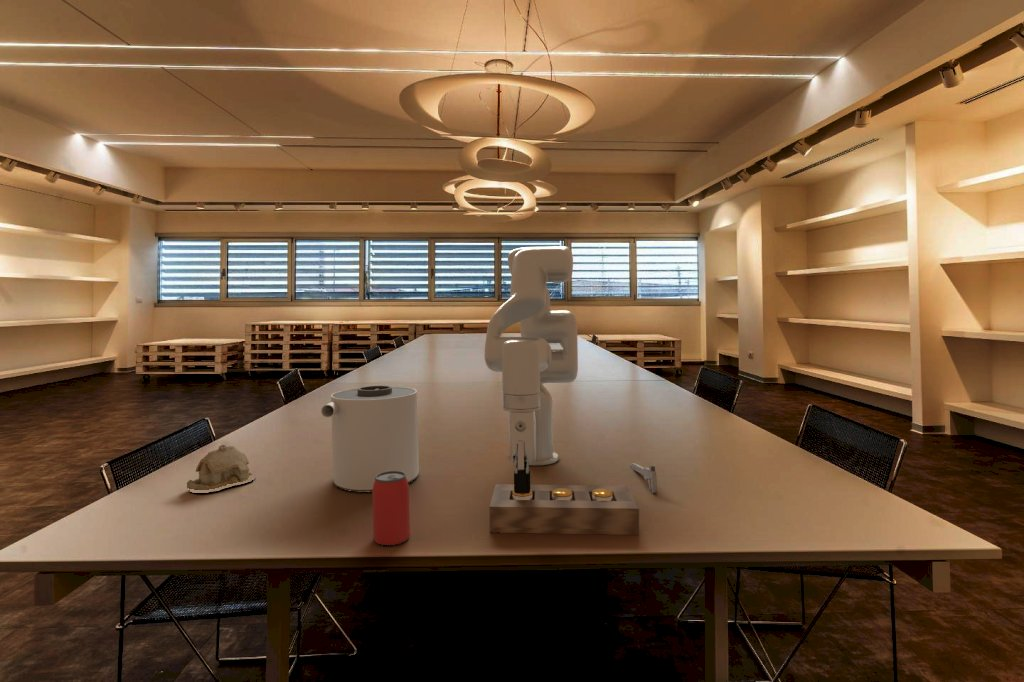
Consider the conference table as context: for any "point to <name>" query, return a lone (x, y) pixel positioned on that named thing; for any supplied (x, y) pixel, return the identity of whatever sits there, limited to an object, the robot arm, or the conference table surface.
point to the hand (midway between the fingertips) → (522, 491)
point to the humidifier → (373, 434)
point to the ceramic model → (221, 469)
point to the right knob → (601, 495)
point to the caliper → (647, 475)
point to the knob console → (564, 511)
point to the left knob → (522, 496)
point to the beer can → (391, 508)
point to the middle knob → (562, 494)
